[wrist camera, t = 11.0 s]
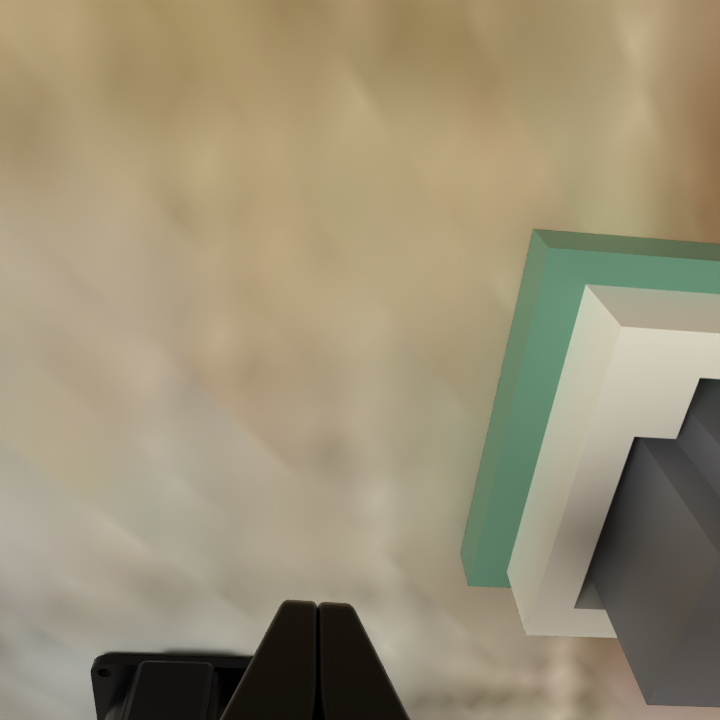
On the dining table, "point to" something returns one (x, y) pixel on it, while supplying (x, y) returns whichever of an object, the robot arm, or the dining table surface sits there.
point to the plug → (668, 559)
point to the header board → (584, 409)
